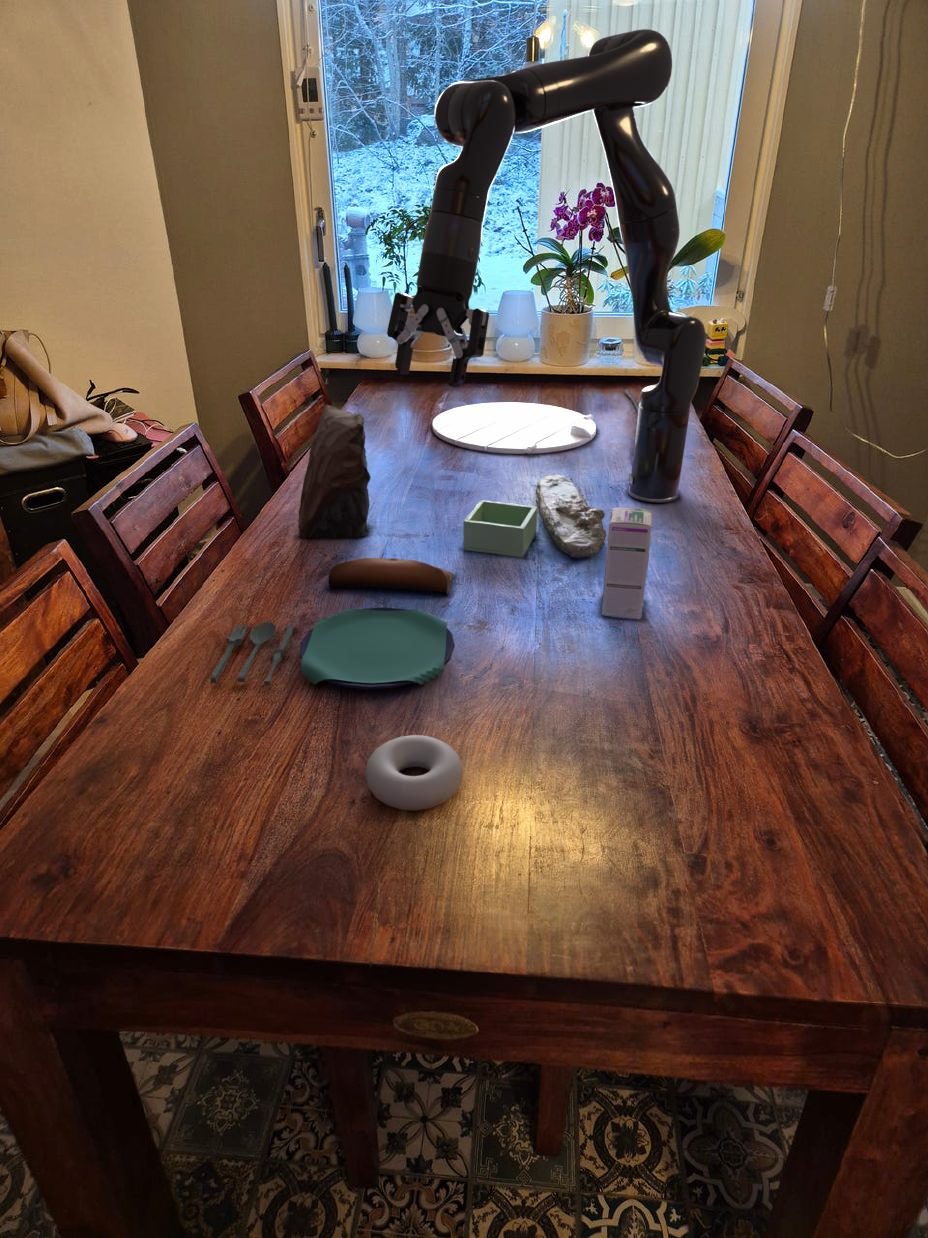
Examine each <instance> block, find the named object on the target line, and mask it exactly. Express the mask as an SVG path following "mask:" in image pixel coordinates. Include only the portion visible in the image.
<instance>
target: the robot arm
mask: <svg viewBox="0 0 928 1238" xmlns="http://www.w3.org/2000/svg"><path fill="white" fill-rule="evenodd" d="M672 58H673V56H672V50H671V47H670V45H669V42H668V41H667V39H666V37H665V36H664V35H663V34H662V33H660V32H659V31H656V30H654V29H649V28H648V29H647V28H645V29H644V28H643V29H642V28H641V29H635V30H631V31H627V32H622V33H619V34H613V35H609V36H605V37H602V38H600V39H598V40H596V41H595V42H594V44H593V45H592V46H591V48H590V50H589V52H588V55H586V56H581V57H575V58H569V59H562V60H555V61H549V62H544V63H540V64H536V65H535V64H534V65H531V66H528V67H524V68H520V69H517V70H514V71H512V72H509V73H506V74H501V75H497V76H489V77H482V78H475V79H467V80H464V81H458V82H454V83H452V84H451V85H449V86H448V87H446V88H445V89H444V90H443V91H442V93H441V94H440V95H439V97H438V100H437V102H436V104H435V108H434V122H435V127H436V129H437V131H438V133H439V135H440V136H441V137H442V138H443V140H444V141H445V142H447V143H448V144H450V145H452V146H454V147H458V148H461V149H460V152H459V154H458V156H457V158H456V159H455V160H454V161H453V160H452V162H450V163H447V164H445V165H443V166H441V167H440V168H439V169H438V172H437V175H436V177H435V178H436V179H435V183H434V190H433V195H432V200H431V206H430V213H429V217H428V220H427V223H426V226H425V232H424V236H423V242H422V249H421V253H420V254H421V255H420V260H419V265H418V271H417V276H416V293H415V295H414V296H411V295H410V294H407V293H404V292H395V294H394V296H393V302H392V306H391V310H390V316H389V321H388V326H387V330H386V335H387V337H388V338H392V339H393V340H394V341H396V343H397V349H396V350H397V351H396V356H395V362H394V368H395V369H396V372H397V373H396V374H400V375H409V374H410V370H411V364H412V357H413V352H414V347H412V345H413V344H414V343H415V342H416V341H417V340H419V338H420V337H421V336H423V335H424V334H426V333H427V334H433V335H437V336H440V337H444V338H445V337H446V339H447V342H448V343H449V344H450V346H451V348H452V351H453V354H454V356H455V357H452V362H451V367H450V372H449V378H448V387H452V388H459V387H461V384H464V382H465V380H466V374H467V371H468V370H467V369H468V365H469V362H470V360H471V359H474V358H481V357H483V355H484V353H485V352H484V351H485V345H486V339H487V332H488V325H489V320H490V313H489V311H488V310H486V309H482V308H478V307H477V308H473V309H472V308H470V299H471V297H472V293H473V288H474V284H475V279H476V273H477V267H478V262H479V258H480V253H481V247H482V240H483V226H484V221H485V215H486V210H487V205H488V200H489V194H490V190H491V187H492V184H493V183H494V181H495V179H496V177H497V174H498V173H499V170H500V168H501V165H502V163H503V160H504V158H505V156H506V153H507V151H508V149H509V146H510V144H511V141H512V138H513V135H514V134H523V133H528V132H532V131H535V130H538V129H541V128H545V127H548V126H550V125H554V124H556V123H559V122H562V121H565V120H568V119H570V118H573V117H577V116H579V115H582V114H584V113H588V112H591V111H592V113H593V116H594V120H595V123H596V126H597V130H598V134H599V136H600V140H601V144H602V148H603V150H604V154H605V158H606V163H607V167H608V172H609V177H610V182H611V186H612V191H613V195H614V202H615V208H616V214H617V221H618V228H619V233H620V237H621V242H622V246H623V250H624V256H625V260H626V266H627V273H628V279H629V286H630V290H631V300H632V311H633V312H632V314H633V323H634V334H635V343H636V348H637V352H638V354H639V356H640V358H641V359H642V360H643V361H644V362H646V363H647V364H650V365H653V366H656V367H660V368H662V369H661V373H660V378H659V380H658V381H659V382H658V383H656V384H652V385H647V386H645V387H643V388H642V389H641V391H640V393H639V401H638V402H637V401H636V399H635V398H634V397H633V395H632V394H631V393H630V392H629V391H628V390H627V389H623V392H624V394H625V395H626V396H627V397H628V399H629V400H630V401H631V403H632V404H633V406H634V407H635V409H636V412H637V420H636V421H637V422H636V430H635V436H634V443H633V451H632V463H631V470H630V471H631V473H630V472H628V481H629V487H628V495H629V496H630V497H631V498H633V499H635V500H638V501H641V502H645V503H655V504H665V503H670V502H673V501H676V500H677V499H678V497H679V487H680V481H681V474H682V468H683V461H684V454H685V448H686V441H687V433H688V427H689V419H690V412H691V406H692V400H693V398H694V396H695V394H696V392H697V389H698V386H699V381H700V376H701V372H702V371H701V370H702V366H703V361H704V356H705V350H706V344H707V335H706V334H707V332H706V328H705V325H704V323H703V322H702V320H700V319H699V318H697V317H694V316H691V315H686V314H681V313H676V312H673V311H672V308H671V305H670V301H669V295H668V286H667V285H668V283H667V281H668V273H669V271H670V267H671V266H672V265H671V264H672V262H673V259H674V257H675V253H676V251H677V248H678V244H679V239H680V234H681V233H680V232H681V231H680V221H679V213H678V209H677V208H678V206H677V201H676V195H675V191H674V187H673V185H672V183H671V182H670V180H669V178H668V176H667V175H666V173H665V171H664V170H663V169H662V167H661V166H660V165H659V163H658V162H657V160H656V159H655V157H654V156H653V155H652V153H651V152H650V151H649V149H648V148H647V146H646V145H645V143H644V141H643V138H642V137H641V134H640V131H639V129H638V125H637V121H636V116H635V112H634V108H639V107H645V106H647V105H650V104H653V103H654V102H655V101H657V100H658V99H660V98H661V97H662V96H663V94H664V93H665V92H666V90H667V88H668V86H669V84H670V82H671V77H672V72H673V59H672ZM412 309H413V312H414V315H413V316H412V318H411V319H409V320H408V317H409V313H410V311H411V310H412ZM407 320H408V322H407ZM467 320H468V324H469V325H470V328H469V335H468V337H467V334H466V332H465V329H464V327H463V325H464V324H465V322H466V321H467Z"/></svg>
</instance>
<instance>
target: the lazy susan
mask: <svg viewBox="0 0 928 1238" xmlns="http://www.w3.org/2000/svg"><path fill="white" fill-rule="evenodd" d="M593 419H594V415H593V414H590V413H589V414H587V415H584V414H582V413H580V412H578V411H574V410H571V409H567V408H563V407H560V406H554V405H549V404H541V403H532V402H511V401H509V402H507V401H506V402H485V403H484V402H483V403H474V404H468V405H462V406H458V407H453V408H451V409H448V410H445V411H443V412H441V413H440V414H437V416H435V418H433V420H432V431H433V433H434V435H436V436H437V437H438V438H439V439H441V440H443V441H445V442H447V443H448V444H452V445H454V446H457V447H460V448H465V449H468V450H474V451H479V452H487V453H494V454H510V455H511V454H512V455H519V454H520V455H524V454H527V455H534V454H545V453H554V452H555V453H556V452H561V451H566V450H571V449H575V448H578V447H581V446H583V445H585V444H588V443H589V442H590V441H592V440H593V439H594V438H595V436H596V432H597V425H596V423H595V422H594V420H593Z"/></svg>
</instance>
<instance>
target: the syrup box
mask: <svg viewBox="0 0 928 1238" xmlns="http://www.w3.org/2000/svg"><path fill="white" fill-rule="evenodd" d="M652 517H653V511H652V510H650V509H644V508H637V507H612V508H611V511H610V515H609V520H608V521H609V523H608V533H607V544H606V552H605V553H606V554H605V565H604V576H603V587H602V588H603V589H602V598H601V599H602V601H601V616H605V617H611V618H620V619H629V620H641V618H642V613H643V605H644V599H645V590H646V583H647V577H648V576H647V575H648V566H649V560H650V559H649V557H650V547H651V535H652Z"/></svg>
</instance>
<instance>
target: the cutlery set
mask: <svg viewBox="0 0 928 1238" xmlns="http://www.w3.org/2000/svg"><path fill="white" fill-rule="evenodd" d="M249 625H250V624H249V623H246V624H245V623H244V622H242V623H241V622H237V624H236V626H235V628H234V629H233V630H232V632H231V633H230V634H229V635H228V637H226V643H227V646H226V649H225V651H224V654H223V655H222V657H221V659H220V661H219V662H218V664H217V666H216V667H215V668H214V670H213V672H212V674H211V676H210V677H209V680H210V684H217V682H218V681H219V679H220V676H221V675H222V672H223V671H224V669H225V667H226V666H227V664H228V662H229V660H230V658H231V655H232V653H233V651H234V648H237V647H238V646H240V645H241V644H243V641H244V638H245V635H246V633H247V630H248V628H249ZM276 629H277V627H276V625H275V624H274V623H273V622H272V621H263V622H261V623H259V624H257V625H256V626H254V628H253V629H252V630H251V631H250V632H249V633H250V634H249V639H250V641H251V642H252V643H253V644H254V645H255V647H254V648H253V650H252V652H251V653H250V655H249V656H248V657H247V660H246V662H245V663H244V665H243V667H242V669H241V670H240V673H239V675H238V676H237V683H246V680H247V677H248V674H249V672H250V671H251V670H250V669H251V667H252V666H253V665H252V664H253V662H254V660H255V658H256V656H257V653H258V651H259V649H260V648H261V647H262V646H263V645H264V644H266V643H268V642H270V641H272V640H273V638H274V637H275V636H276V632H277V631H276ZM293 632H294V625H293V623H291V622H289V623H288V625H287V627H286V630H285V631H284V635H283V637H282V640H281V642H280V644H279V647H278V648H277V649H274V654H272V663H271V666H270V669H269V673H268V675H267V677H266V679H265V680H264V681H263V684H264V687H266V686H267V687H270V686H271V680H272V676H273V674H274V671H275V670H276V669H277V668H276V667H277V665H278V663H279V662H281V661H282V658H284V657H285V650H286V648H287V647H288V645H289V643H290V640H291V637H292V636H293ZM455 648H456V644H455V640H454V636H453V633H452V632H451V630H450V629H449V628H448V622H446V621H445V620H443V619H441V618H439V617H438V616H436V615H434V614H432V613H430V612H427V611H425V610H423V609H419V608H410V609H408V608H399V607H388V606H382V607H366V608H365V607H364V608H347V609H345V610H342V611H340V612H337V613H334V614H333V615H329V616H327V617H325V618H322V619H320V620H318V621H316V622H315V623H314V625H313V627H312V628H311V629H309V630H308V631H307V632H306V634H305V636H304V637H303V639H301V641H300V647H299V657H300V660H301V662H300V669H301V673H302V675H303V676H304V677H305V678H306V679H307V680H308V681H309V682H310V683H311V684H313V685H315V686H316V685H317V684H318V683H319V682H321V681H324V682H328V683H330V684H333V685H337V686H339V687H343V688H351V689H361V690H381V689H396V688H399V687H402V686H407V685H410V684H414V683H417V684H419V685H421V686H422V685H423V684H426V683H428V682H429V681H431V680H434V679H436V678H438V677H440V676H441V675H442V673H443V672H444V667H445V665H447V663H448V662H450V661H451V658H452V656H453V652H454V650H455Z"/></svg>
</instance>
